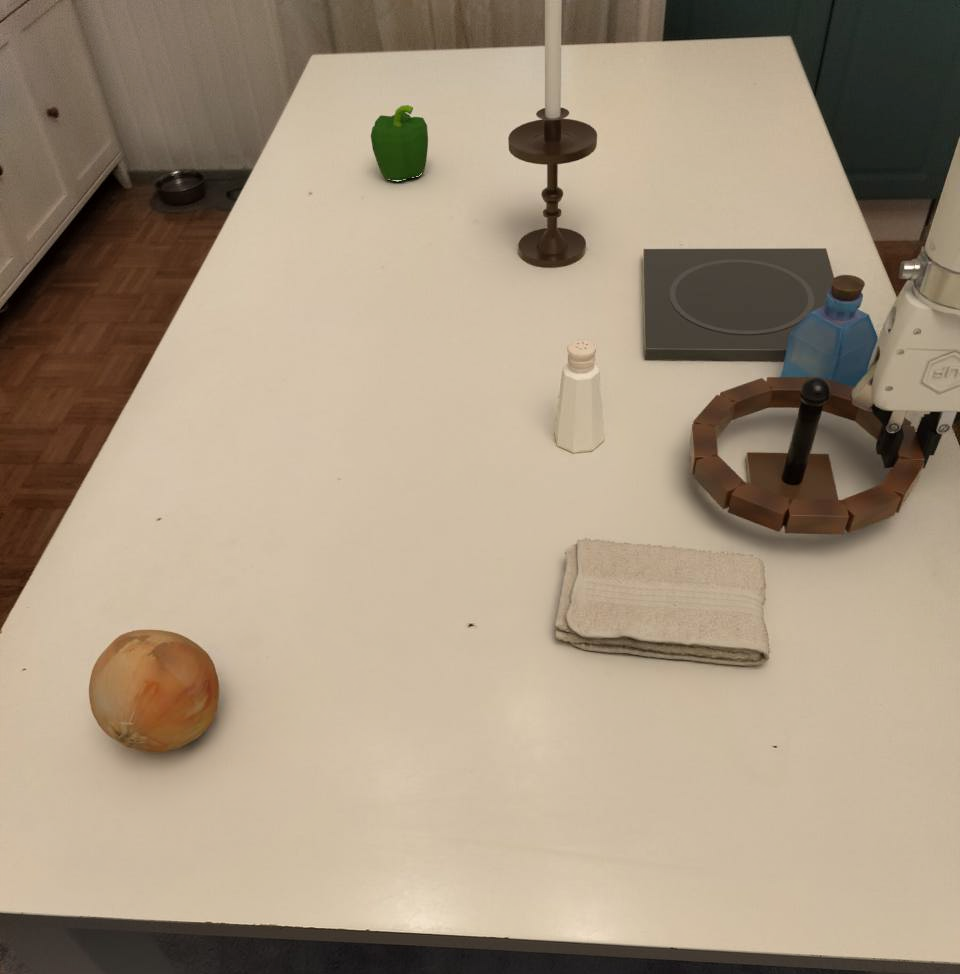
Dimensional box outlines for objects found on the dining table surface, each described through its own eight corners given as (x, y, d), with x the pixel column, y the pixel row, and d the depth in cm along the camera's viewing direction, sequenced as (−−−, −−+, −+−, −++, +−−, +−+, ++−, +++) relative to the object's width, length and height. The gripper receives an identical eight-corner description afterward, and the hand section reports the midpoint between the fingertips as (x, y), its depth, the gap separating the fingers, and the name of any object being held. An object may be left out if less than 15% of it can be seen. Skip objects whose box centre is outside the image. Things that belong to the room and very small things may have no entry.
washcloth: (566, 554, 86) (566, 530, 83) (762, 569, 83) (769, 544, 81) (551, 651, 78) (552, 628, 76) (767, 671, 76) (774, 648, 73)
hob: (823, 259, 117) (826, 247, 116) (851, 362, 103) (854, 349, 101) (642, 259, 120) (643, 247, 118) (644, 360, 105) (645, 347, 104)
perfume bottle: (862, 388, 99) (894, 285, 90) (822, 409, 97) (851, 306, 88) (818, 362, 103) (845, 260, 94) (779, 382, 101) (802, 280, 92)
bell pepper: (365, 179, 140) (354, 108, 132) (402, 159, 143) (393, 89, 136) (404, 193, 136) (395, 121, 128) (441, 172, 140) (435, 101, 132)
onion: (101, 779, 73) (48, 706, 65) (131, 680, 79) (86, 602, 71) (221, 775, 72) (182, 701, 64) (242, 675, 79) (208, 597, 71)
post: (826, 461, 92) (858, 354, 83) (837, 515, 87) (873, 408, 78) (745, 459, 93) (767, 353, 83) (751, 513, 88) (776, 406, 78)
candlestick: (495, 251, 123) (480, -69, 96) (553, 222, 127) (555, -91, 100) (550, 280, 118) (552, -51, 91) (609, 249, 122) (627, -76, 95)
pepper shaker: (598, 457, 94) (603, 365, 86) (547, 450, 96) (547, 358, 87) (609, 425, 98) (615, 333, 89) (560, 419, 99) (561, 327, 90)
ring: (892, 395, 93) (898, 377, 91) (935, 537, 80) (943, 518, 78) (686, 394, 95) (688, 376, 93) (695, 531, 82) (698, 513, 80)
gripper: (870, 301, 71) (818, 484, 85) (1091, 299, 69) (1000, 487, 83) (855, 252, 75) (808, 433, 89) (1061, 250, 73) (980, 435, 88)
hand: (901, 457), depth 86 cm, fingers closed on ring, 2 cm apart
